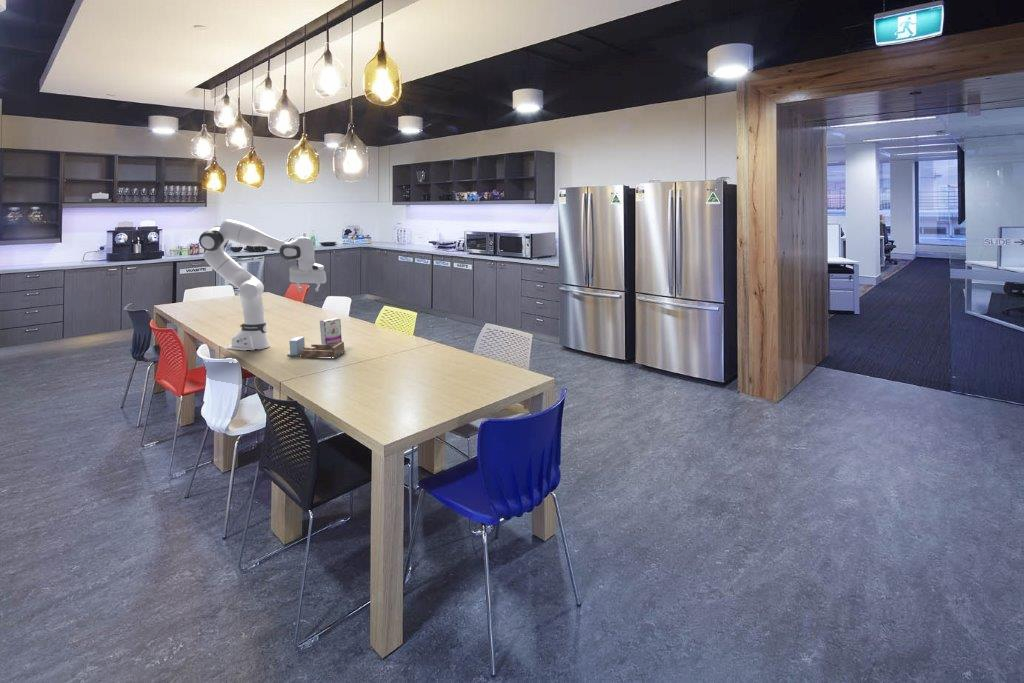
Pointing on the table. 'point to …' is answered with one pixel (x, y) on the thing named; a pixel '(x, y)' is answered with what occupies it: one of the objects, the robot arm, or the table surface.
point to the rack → (324, 350)
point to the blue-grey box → (296, 345)
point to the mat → (294, 355)
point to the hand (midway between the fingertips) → (308, 290)
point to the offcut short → (309, 348)
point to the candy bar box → (330, 331)
